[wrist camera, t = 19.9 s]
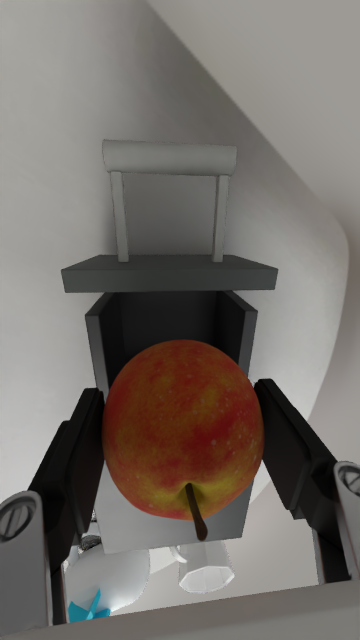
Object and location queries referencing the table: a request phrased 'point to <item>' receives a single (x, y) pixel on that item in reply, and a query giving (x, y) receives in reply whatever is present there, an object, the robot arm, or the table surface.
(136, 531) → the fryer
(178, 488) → the fruit
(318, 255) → the table surface
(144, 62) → the table surface
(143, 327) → the grey drawer
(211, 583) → the cup
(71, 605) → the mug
